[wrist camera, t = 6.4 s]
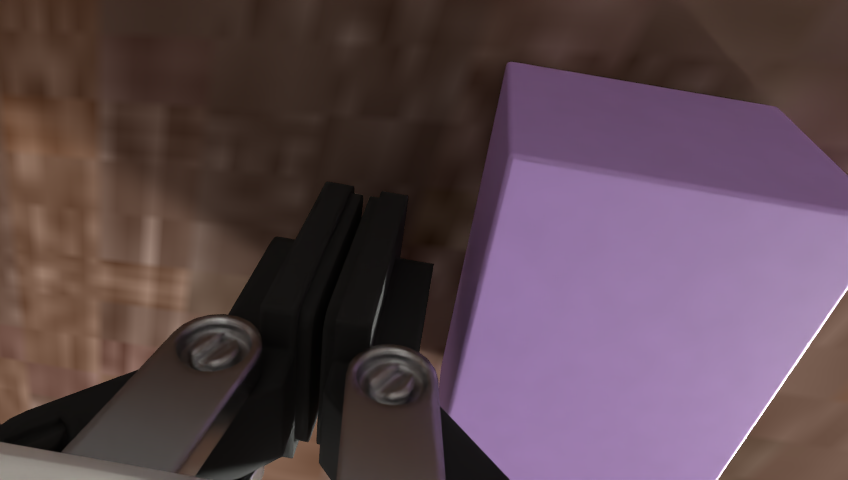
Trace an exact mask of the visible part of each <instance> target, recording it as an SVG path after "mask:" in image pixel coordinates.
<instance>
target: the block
mask: <svg viewBox="0 0 848 480" xmlns="http://www.w3.org/2000/svg"><path fill="white" fill-rule="evenodd" d="M847 289H848V175H847V174H845V173H844V172H843V171H842V170H841V169H840V168H839V167H838V166H837V165H836V164H835V163H834V162H833V161H832V160H831V159H830V158H829V157H828V156H827V155H826V154H825V153H824V152H823V151H822V150H821V149H820V148H819V147H818V146H817V145H816V144H815V143H814V142H812V141H811V140H810V139H809V138H808V137H807V136H806V135H805V134H804V133H803V132H802V131H801V130H800V129H799V128H798V127H797V126H796V125H795V124H794V123H793V122H792V121H791V120H790V119H789V118H788V117H787V116H786V115H785V114H784V113H783V112H782V111H780V110H779V109H778V108H777V107H775V106H769V105H763V104H757V103H751V102H745V101H740V100H734V99H728V98H722V97H716V96H710V95H704V94H698V93H693V92H687V91H681V90H675V89H669V88H663V87H657V86H651V85H646V84H640V83H634V82H628V81H622V80H616V79H610V78H604V77H599V76H593V75H587V74H581V73H575V72H569V71H563V70H557V69H552V68H546V67H540V66H534V65H528V64H522V63H516V62H508V63H507V65H506V69H505V73H504V78H503V82H502V87H501V92H500V96H499V101H498V106H497V110H496V115H495V120H494V124H493V129H492V134H491V138H490V143H489V148H488V152H487V157H486V161H485V166H484V171H483V175H482V180H481V185H480V189H479V194H478V199H477V203H476V208H475V213H474V217H473V222H472V226H471V231H470V236H469V240H468V245H467V250H466V254H465V259H464V264H463V268H462V273H461V278H460V282H459V287H458V292H457V296H456V301H455V305H454V310H453V315H452V319H451V324H450V329H449V333H448V338H447V343H446V347H445V352H444V357H443V361H442V366H441V374H440V383H439V400H440V406H441V407H442V408H443V409H444V411H445V412H446V413H447V414H448V415H449V416H450V417H451V418H452V419H453V420H454V421H455V422H456V423H457V424H458V425H459V426H460V427H461V429H462V430H463V431H464V432H465V433H466V434H467V435H468V436H469V437H470V438H471V439H472V440H473V441H474V442H475V443H476V444H477V445H478V446H479V448H480V449H481V450H482V451H483V452H484V453H485V454H486V455H487V456H488V457H489V458H490V459H491V460H492V461H493V462H494V463H495V464H496V465H497V467H498V468H499V469H500V470H501V471H502V472H503V473H504V474H505V475H506V476H507V477H508V478H509V479H510V480H718V478H719V477H720V475H721V474H722V472H723V471H724V469H725V468H726V466H727V465H728V463H729V462H730V461H731V459H732V458H733V456H734V455H735V453H736V452H737V450H738V449H739V447H740V446H741V444H742V443H743V442H744V440H745V439H746V437H747V436H748V434H749V433H750V431H751V430H752V428H753V427H754V425H755V424H756V423H757V421H758V420H759V418H760V417H761V415H762V414H763V412H764V411H765V409H766V408H767V406H768V405H769V404H770V402H771V401H772V399H773V398H774V396H775V395H776V393H777V392H778V390H779V389H780V387H781V386H782V385H783V383H784V382H785V380H786V379H787V377H788V376H789V374H790V373H791V371H792V370H793V368H794V367H795V366H796V364H797V363H798V361H799V360H800V358H801V357H802V355H803V354H804V352H805V351H806V349H807V348H808V347H809V345H810V344H811V342H812V341H813V339H814V338H815V336H816V335H817V333H818V332H819V330H820V329H821V328H822V326H823V325H824V323H825V322H826V320H827V319H828V317H829V316H830V314H831V313H832V311H833V310H834V309H835V307H836V306H837V304H838V303H839V301H840V300H841V298H842V297H843V295H844V294H845V292H846V291H847Z"/></svg>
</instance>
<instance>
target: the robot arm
mask: <svg viewBox="0 0 848 480" xmlns="http://www.w3.org/2000/svg"><path fill="white" fill-rule="evenodd" d="M407 204H408V196H407V195H402V194H396V193H390V192H384V191H382V192H381V194H380V197H379V198H378V197H372V196H370V198H369V200H368V203H367V205H366V208H365V211H364V213H363V216H362V207H363V195H361V194H355V193H354V186H350V185H344V184H339V183H333V182H326V183H325V185H324V187H323V188H322V190H321V192H320V194H319V196H318V198H317V200H316V202H315V204H314V205H313V207H312V209H311V211H310V213H309V215H308V217H307V219H306V221H305V222H304V224H303V226H302V228H301V230H300V232H299V234H298V236H297V237H296V239H295V240H294V239H288V238H283V237H275V238H274V239H273V240H272V241H271V243H270V245H269V246H268V248H267V250H266V251H265V253H264V255H263V257H262V258H261V260H260V262H259V263H258V265H257V267H256V268H255V270H254V272H253V273H252V275H251V277H250V279H249V280H248V282H247V284H246V285H245V287H244V289H243V290H242V292H241V294H240V296H239V297H238V299H237V301H236V302H235V304H234V306H233V307H232V309H231V311H230V313H229V314H228V315H226V314H217V315H207V316H203V317H199V318H196V319H193V320H191V321H189V322H187V323H185V324H183V325H182V326H181V327H179V328H178V329H177V330H176V331H174V332H173V333H172V334H171V335H170V337H169V338H168V339H167V340H166V341H165V342H164V343H163V344H162V345H161V346H160V347H159V348H158V349H157V350H156V351H155V353H154V354H153V355H152V356H151V357H150V358H149V359H148V360H147V361H146V362H145V363H144V364H143V365H142V366H141V367H140V369H139V370H136V371H133V372H131V373H128V374H125V375H122V376H120V377H117V378H114V379H112V380H109V381H106V382H103V383H101V384H98V385H95V386H93V387H90V388H87V389H84V390H82V391H79V392H76V393H74V394H71V395H68V396H65V397H63V398H60V399H57V400H55V401H52V402H49V403H46V404H44V405H41V406H38V407H36V408H33V409H30V410H27V411H25V412H23V413H21V414H19V415H17V416H15V417H13V418H11V419H9V420H7V421H6V422H5V423H3V424H0V480H261V479H262V477H263V474H264V466H265V465H267V464H269V463H271V462H272V461H274V460H276V459H278V458H280V457H288V458H293V456H294V453H295V450H296V447H297V444H298V441H299V440H300V441H305V442H308V441H309V440H310V438H311V435H312V432H313V429H314V426H315V423H316V419H317V416H318V423H317V444H320V454H319V464H320V465H321V466H322V468H323V469H324V471H325V472H326V474H327V475H328V476H329V478H330V479H331V480H510V479H509V478H508V477H507V476H506V475H505V474H504V473H503V472H502V471H501V470H500V469H499V468H498V467H497V465H496V464H495V463H494V462H493V461H492V460H491V459H490V458H489V457H488V456H487V455H486V454H485V453H484V452H483V451H482V450H481V449H480V448H479V446H478V445H477V444H476V443H475V442H474V441H473V440H472V439H471V438H470V437H469V436H468V435H467V434H466V433H465V432H464V431H463V430H462V429H461V427H460V426H459V425H458V424H457V423H456V422H455V421H454V420H453V419H452V418H451V417H450V416H449V415H448V414H447V413H446V412H445V411H444V409H443V408H442V407H441V406H440V400H439V387H438V378H437V374H436V371H435V368H434V367H433V366H432V364H431V363H430V361H429V360H428V359H427V358H426V357H424V356H423V355H422V354H420V353H419V350H420V344H421V338H422V332H423V326H424V320H425V314H426V308H427V302H428V296H429V290H430V284H431V278H432V272H433V266H434V264H430V263H425V262H419V261H413V260H407V259H402V258H400V255H401V247H402V240H403V233H404V226H405V219H406V212H407Z"/></svg>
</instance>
